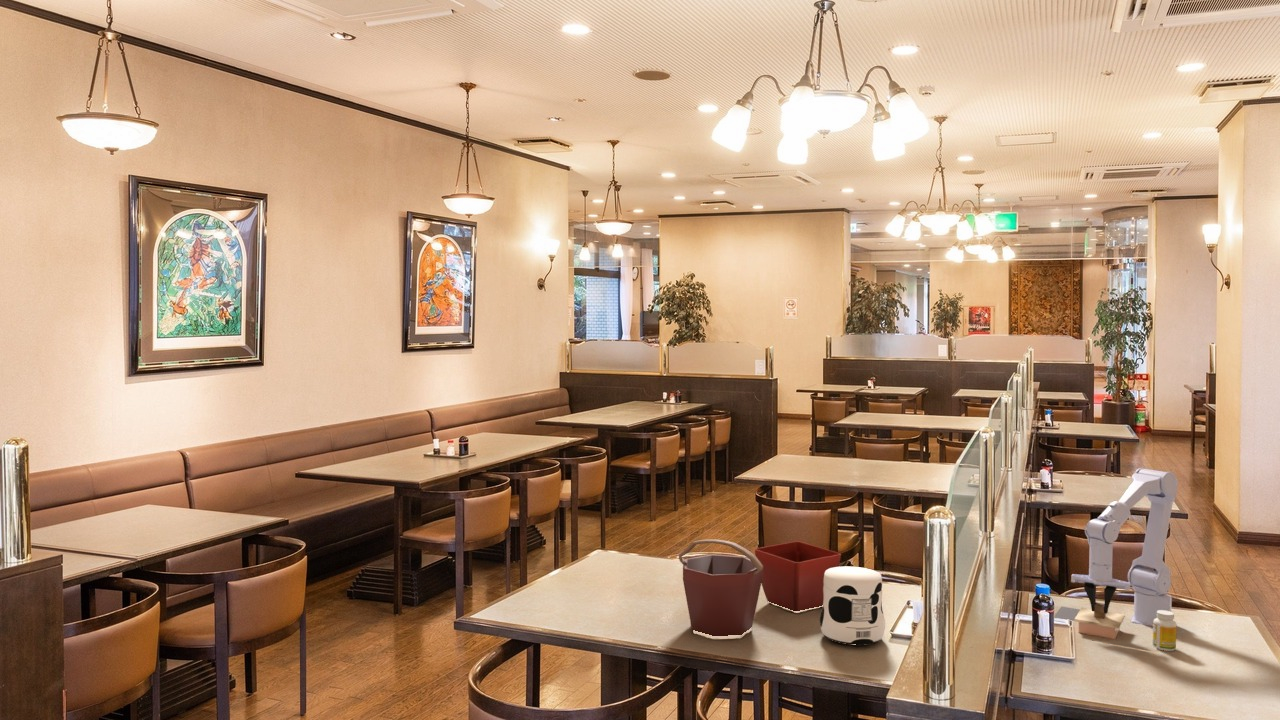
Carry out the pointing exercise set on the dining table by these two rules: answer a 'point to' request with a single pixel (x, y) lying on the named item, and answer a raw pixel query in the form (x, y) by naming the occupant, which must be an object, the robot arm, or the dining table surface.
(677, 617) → the dining table surface
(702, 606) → the bucket
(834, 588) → the milk container
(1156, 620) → the supplement bottle
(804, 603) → the plant pot
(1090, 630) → the terracotta open box
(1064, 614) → the mat
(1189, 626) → the dining table surface
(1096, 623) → the lid
